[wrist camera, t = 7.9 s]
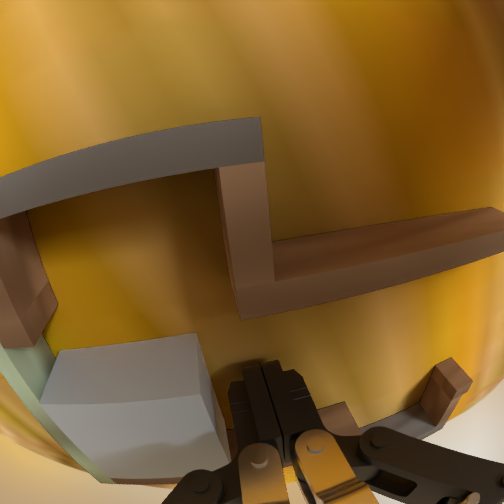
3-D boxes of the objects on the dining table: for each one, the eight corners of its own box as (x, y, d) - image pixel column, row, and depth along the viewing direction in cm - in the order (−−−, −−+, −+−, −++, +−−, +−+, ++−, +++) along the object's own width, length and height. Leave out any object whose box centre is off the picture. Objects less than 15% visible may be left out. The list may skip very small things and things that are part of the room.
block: (63, 343, 11) (38, 403, 8) (195, 325, 11) (200, 393, 8) (116, 424, 13) (110, 478, 10) (223, 413, 14) (233, 470, 11)
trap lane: (-30, 190, 7) (-71, 211, 5) (495, 127, 10) (535, 136, 8) (130, 475, 15) (129, 505, 13) (430, 403, 18) (447, 425, 15)
